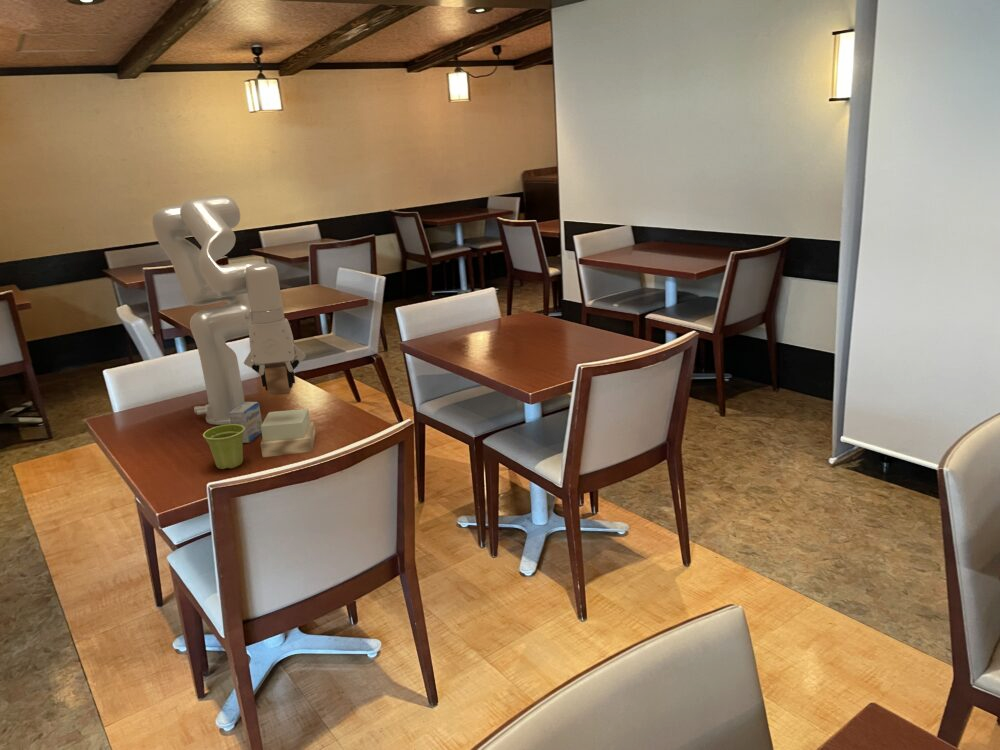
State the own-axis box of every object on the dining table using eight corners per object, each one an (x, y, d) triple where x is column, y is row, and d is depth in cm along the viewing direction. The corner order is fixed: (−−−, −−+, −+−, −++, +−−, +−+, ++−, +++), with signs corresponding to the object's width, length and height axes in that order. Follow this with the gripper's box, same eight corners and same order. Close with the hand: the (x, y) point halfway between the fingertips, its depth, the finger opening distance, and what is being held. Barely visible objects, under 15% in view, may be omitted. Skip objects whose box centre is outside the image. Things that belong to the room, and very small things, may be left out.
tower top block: (263, 441, 184) (260, 426, 183) (271, 426, 194) (268, 412, 193) (304, 437, 185) (302, 422, 184) (310, 423, 195) (308, 408, 193)
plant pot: (234, 453, 187) (228, 421, 185) (258, 460, 182) (252, 427, 179) (201, 468, 180) (194, 434, 177) (225, 475, 175) (219, 441, 172)
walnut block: (268, 396, 183) (264, 368, 181) (271, 389, 188) (266, 363, 186) (289, 393, 184) (285, 366, 182) (291, 387, 188) (287, 361, 186)
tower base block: (263, 459, 184) (260, 444, 183) (269, 440, 195) (266, 426, 194) (312, 453, 186) (310, 438, 184) (315, 435, 197) (313, 421, 196)
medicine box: (249, 443, 193) (243, 412, 190) (233, 443, 194) (227, 412, 191) (264, 431, 200) (259, 401, 198) (249, 431, 201) (243, 401, 199)
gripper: (228, 323, 175) (241, 396, 181) (302, 315, 178) (313, 388, 183) (234, 316, 182) (246, 387, 188) (305, 309, 185) (315, 379, 190)
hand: (279, 386), depth 185 cm, fingers closed on walnut block, 4 cm apart
